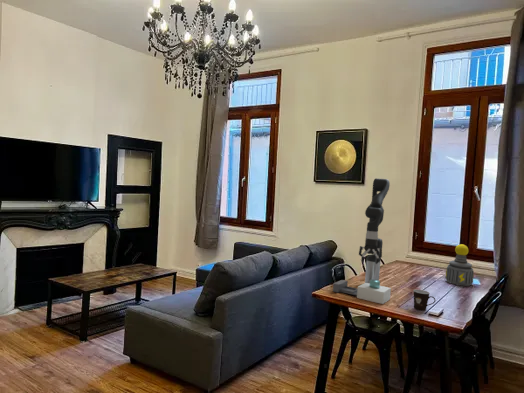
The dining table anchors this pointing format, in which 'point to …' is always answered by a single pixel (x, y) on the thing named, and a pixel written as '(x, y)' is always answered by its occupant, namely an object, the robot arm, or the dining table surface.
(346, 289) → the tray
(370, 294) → the white rectangular block
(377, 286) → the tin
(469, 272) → the decorative lamp
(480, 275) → the dining table surface
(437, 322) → the dining table surface
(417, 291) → the coffee mug
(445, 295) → the dining table surface
